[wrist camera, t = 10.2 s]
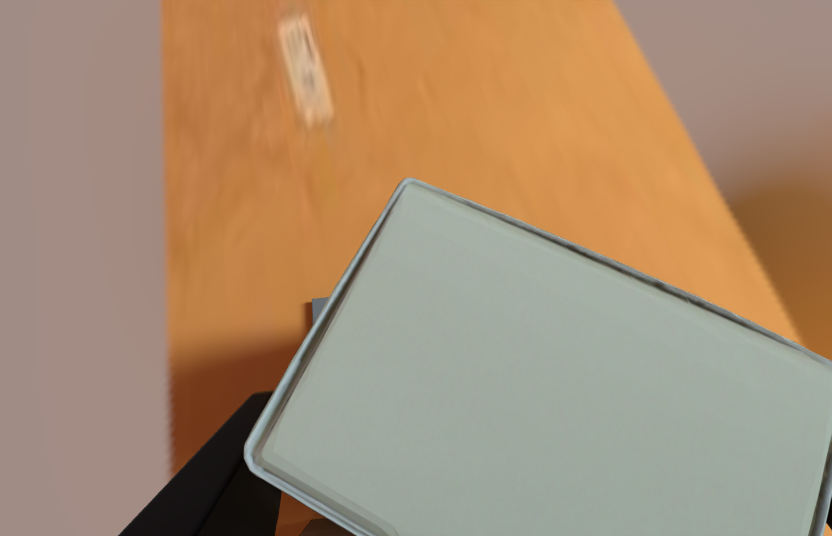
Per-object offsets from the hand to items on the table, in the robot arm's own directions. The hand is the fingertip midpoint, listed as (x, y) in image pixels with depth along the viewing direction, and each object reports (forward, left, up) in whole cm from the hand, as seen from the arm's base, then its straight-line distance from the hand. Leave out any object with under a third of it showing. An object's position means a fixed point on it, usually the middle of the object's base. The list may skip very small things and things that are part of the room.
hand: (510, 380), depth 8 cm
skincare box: (0, 0, -9) cm, 9 cm away
